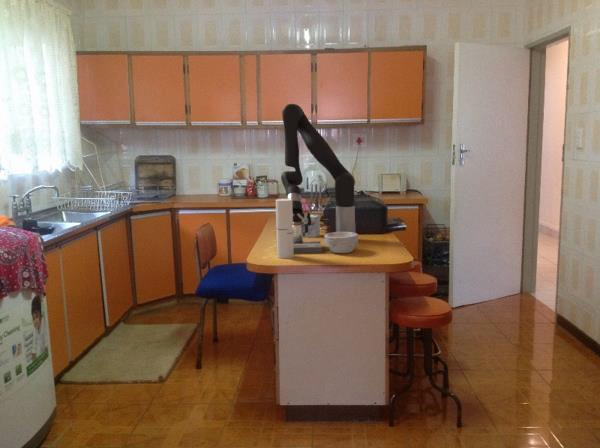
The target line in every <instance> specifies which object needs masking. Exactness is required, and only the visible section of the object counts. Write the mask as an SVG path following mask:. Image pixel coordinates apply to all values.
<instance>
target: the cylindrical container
mask: <svg viewBox="0 0 600 448" xmlns="http://www.w3.org/2000/svg"><path fill="white" fill-rule="evenodd" d="M275 218H276V220H275V223H276V225H275V226H276V250H277V251H276V252H277V253H276V254H277V255H276V256H277V258H278V259H291V258H294V256H295V255H294V254H295V253H294V251H293V208H292V199H286V198H278V199H275Z"/></svg>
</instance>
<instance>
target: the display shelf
mask: <svg viewBox="0 0 600 448" xmlns="http://www.w3.org/2000/svg"><path fill="white" fill-rule="evenodd" d="M322 246H323V245H322V243H321V240H319V241H314V240H313V241H303V244H293V251H294V254H315V253H316V254H321V253H322V252H323V251H322V249H323V247H322Z"/></svg>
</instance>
